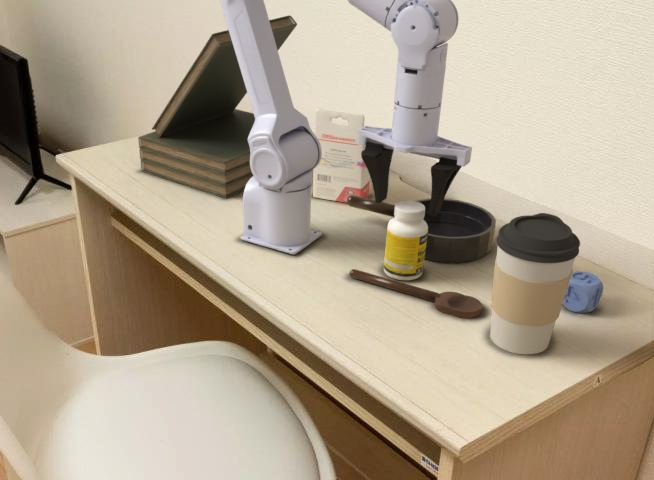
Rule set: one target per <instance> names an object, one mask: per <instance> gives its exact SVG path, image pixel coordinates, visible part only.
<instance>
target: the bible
mask: <svg viewBox="0 0 654 480" xmlns="http://www.w3.org/2000/svg"><path fill="white" fill-rule="evenodd" d="M269 22H270V25H271V29H272V32H273V36H274V39H275V43H276V46H277V50H278V51H279V50H280V49H281V48H282V46H283V45H284V44H285V42H286V41H287V39H288V38H289V37H290V35H291V34H292V32H293V31H294V30H295V29H296V27H297V26H298V23H297V21H296V20H295V19H294V17H293V16H292V15H285V16H281V17H277V18H273V19H269ZM247 94H248V93H247V90H246V86H245V83H244V80H243V76H242V73H241V70H240V66H239V63H238V60H237V56H236V53H235V50H234V46H233V43H232V40H231V36H230V33H229V30H228V29H226V30H222V31H218V32H215V33H212V34H211V35H210V36H209V39H208V40H207V42H206V43H205V45H204V46H203V48H202V49H201V51H200V52H199V54H198V55H197V57H196V59H195V60H194V62H193V64H192V65H191V67H190V68H189V70H188V71H187V72H186V74H185V76H184V77H183V79H182V81H180V84H179V85H178V87H177V89H176V90H175V91H174V93H173V94H172V96H171V97H170V99H169V100H168V102H167V104H166V105H165V107H164V109H163V111H162V112H161V114H160V115H159V116H158V118H157V120H156V121H155V123H154V124H153V126H152V128H151V130H152V132H149V133H146V134H143V135H140V136H138V137H137V138H138V148H139V159H140V171H141V172H143V173H145V174H149V175H152V176H155V177H157V178H162V179H164V180H167V181H170V182H173V183H176V184H180V185H183V186H186V187H189V188H192V189H195V190H199V191H201V192H204V193H207V194H210V195H214V196H217V197H220V198H222V199H228V198H230V197H232V196H235V195H237V194H239V193H241V192H244V189H245V186H246V184H247V182H248V181H249V180H250V178H251V177H253V174H252V171H251V168H250V147H249V143H248V136H249V134H250V131H251V129H252V127H253V124H254V122H255V116H254V113H253V112H250V111H249V112H248V111H245V110H241V109H238V108H237V107H238V106H239V104H240V103H241V102H242V100H243V99H244V98H245V96H246V95H247ZM153 130H155V131H153ZM282 135H283V134H282ZM282 135H281V136H282Z"/></svg>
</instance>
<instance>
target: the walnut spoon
mask: <svg viewBox="0 0 654 480" xmlns="http://www.w3.org/2000/svg"><path fill="white" fill-rule="evenodd" d="M349 276H350V277H351V278H352V279H356V280H359V281H362V282H366V283H369V284H372V285H376V286H380V287H382V288H386V289H389V290H393V291H397V292H400V293H403V294H406V295H410V296H414V297H418V298H420V299H424V300H427V301H431V302H433V303H434V307H435V309H436V310H438V311H439V312H441V313H443V314H447V315H452V316H454V317H457V318H461V319H473V318H476V317H479V316H480V315H481V313H482V311H483V310H482V309H483V304H482V302H481V300H480V299H478V298H476V297H474V296H470V295H467V294H466V295H465V294H463V293H460V292H456V291H443V292H440V293H439V292H436V291H433V290H429V289H425V288H422V287H419V286H415V285H411V284H408V283H405V282H402V281H399V280H398V281H397V280H396V279H392V278H387V277H383V276H380V275H376V274H374V273H373V274H372V273H370V272H366V271H363V270H359V269H356V268H352V269H350V271H349Z"/></svg>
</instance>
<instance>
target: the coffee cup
mask: <svg viewBox="0 0 654 480" xmlns="http://www.w3.org/2000/svg"><path fill="white" fill-rule="evenodd" d="M497 233H498V234H497V236H496V238H495V243H496V245H497V249H496V257H495V259H494V269H493V280H492V282H493V283H492V293H491V304H490V305H491V306H490V307H491V320H490V329H489V338H490V340H491V341H492V343H493V344H494V345H495V346H497V347H498V348H500V349H502V350H504V351H506V352H509V353H512V354H518V355H537V354H540V353H542V352H544V351H546V350H547V349H548V347H549V345H550V341H551V338H552V335H553V331H554V329H555V326H556V321H558V319H559V317H560V314H561V310H562V308H563V301H564V298H565V295H566V291H567V288H568V285H569V282H570V279H571V275H572V272H574V271H573V266H574V264H575V260H576V257H577V256H578V255H579V253H580V247H581V240H580V239H579V237H578V236H577V235H576V234H575V233H574V232H573V230H572V227H570V226H569V225H568V224H566V223H565V222H564V221H563V220H562V219H561V218H560V217H559V216H558V215H555V214H551V213H546V212H541V213H536V214H531V215H519V216H516V217H514V218H512V219H511V220H510V221H509V222H507V223H505V224H504V225H502V226H501V227H500V228H499V229H498V232H497Z"/></svg>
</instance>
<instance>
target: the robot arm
mask: <svg viewBox="0 0 654 480" xmlns="http://www.w3.org/2000/svg"><path fill="white" fill-rule="evenodd" d="M347 2H348V3H349V4H350V5H351V6H353V7H354V8H356V9H357V10H359V11H361V12H362V13H363V14H364V15H366V16H367V17H369V18H370V19H372V20H373V21H375V22H376V23H377V24H379V25H380V26H382V27H384V28H385V29H386V30H387V31H388V32H390V33H391V37H392V40H393V42H394V44H395V46H396V47H397V64H396V75H395V86H394V87H395V88H394V100H393V109H392V123H391V128H388V127H379V126H378V127H377V126H371V125H369V126H368V125H364V127H363V128H361V129H359V135H358V144H360V145H366V147H365V150H363V151H362V152H361V157H362V159H363V161H364V163H365V165H366V167H367V169H368V172H369V175H370V182H371V185H372V189H373V194H374V200H375V202H376V203H381V202H385V200H387V198H388V193H389V182H390V181H389V179H390V169H391V164H392V160H393V156H394V155H393V154H394V152H397V153H402V154H412V155H417V156H422V157H425V158H432V159H435V160H438V161H437V162H435V163H434V164H433V165H431V167H430V176H431V192H430V193H431V194H430V199H431V200H430V207H429V216H433V217H434V216H436V215H437V214H438V213H439V212H440V210H441V206H442V203H443V200H444V199H446V198H445V197H446V195H447V193H448V190H449V189H450V187H451V185H452V183H453V181H454V179H455V178H456V176H457V175H458V172H459V171H460V170H461V168H462V167H466V166H468V164H470V163H471V158H472V151H473V147H472V146H470V145H465V144H461V143H458V142H456V141H453V140H450V139H447V138H444V137H442V136H440V135H439V128H440V118H441V111H442V101H443V95H444V86H445V85H444V84H445V75H446V70H447V69H446V68H447V55H448V47H449V43H448V41H450V40H451V39H452V37H453V36H454V35H455V34H456V32H457V29H458V26H459V13H458V9H457V7H456V5H455V3H454V2H453V0H347ZM219 3H220V6H221V10H222V13H223V16H224V20H225V23H226V26H227V30H229V33H230V36H231V40H232V43H233V46H234V50H235V53H236V56H237V60H238V63H239V66H240V70H241V73H242V76H243V80H244V83H245V86H246V90H247V93H246V94H247V96H248V99H249V103H250V106H251V109H252V113H253V114H254V116H255V122H254V124H253V127H252V129H251V131H250V134H249V136H248V143H249V147H250V168H251V171H252V174H253V177H251V178H250V180H249V181H248V182H247V184H246V186H245V189H244V190H243V195H242V225H243V226H242V227H243V231H242V232H243V234H241V235H240V240H242V241H245V242H249V243H251V244H254V245H255V244H256V245H258V246H262V247H266V248H269V249H272V250H277V251H279V252H283V253H285V254H290V255H296V254H298V253H300V252H301V251H302V250H303V249H305V248H306V247H307V246H309V245H310V244H312V243H313V242H314V241H316V240H317V239H318V238H321V236H322V232H321V231H318V230H315V229H311V215H312V214H311V211H312V209H311V208H312V181H313V169H314V168H316V167H317V166H318V164H319V162H320V160H321V156H322V150H321V145H320V142H319V140H318V138H317V137H316V136H315V134H314V131H313V130H312V129H311V126H310V122H309V119H308V117H307V116H306V115H304V114H303V113H302V112H301V111H299V110H297V109H296V108H295V106H294V103H293V99H292V96H291V93H290V89H289V86H288V82H287V79H286V75H285V71H284V68H283V64H282V61H281V57H280V54H279V50H277V46H276V43H275V39H274V36H273V32H272V29H271V25H270V22H269V20H270V18H269V15H268V12H267V8H266V4H265V1H264V0H219ZM370 126H371V127H370ZM282 134H283V135H282ZM281 135H282V136H281Z"/></svg>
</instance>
